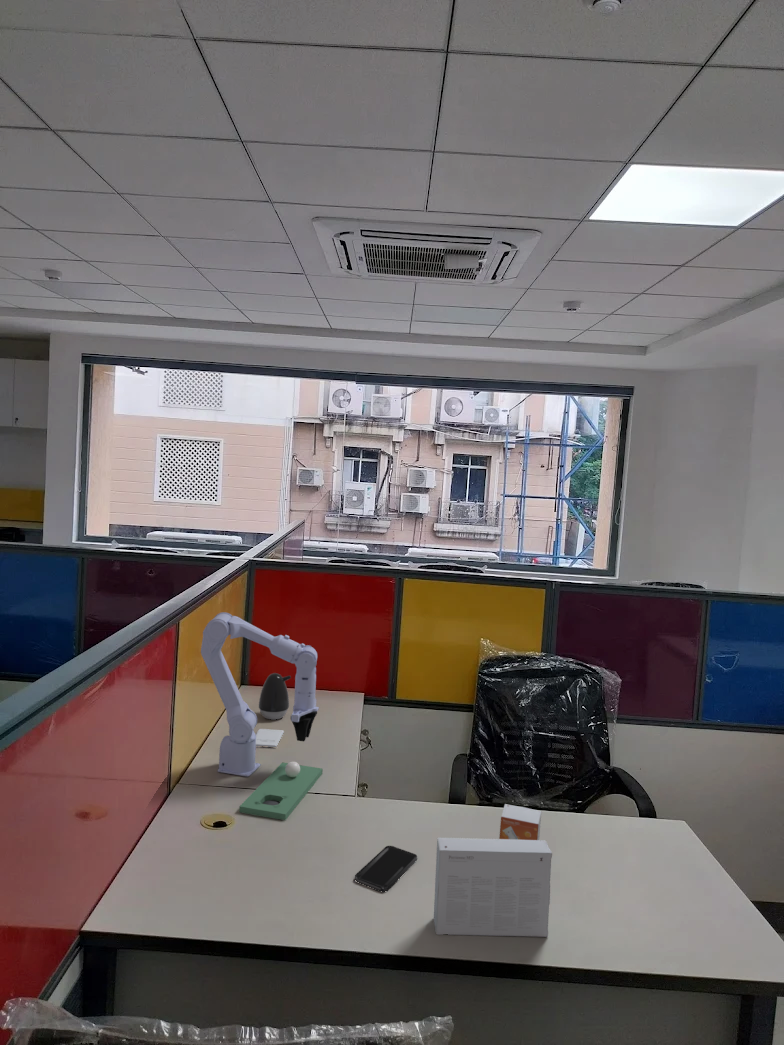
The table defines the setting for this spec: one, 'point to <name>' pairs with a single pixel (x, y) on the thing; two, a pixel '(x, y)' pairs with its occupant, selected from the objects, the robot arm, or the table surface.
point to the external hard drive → (268, 737)
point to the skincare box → (492, 887)
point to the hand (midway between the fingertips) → (303, 738)
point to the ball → (292, 769)
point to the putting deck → (280, 792)
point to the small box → (520, 823)
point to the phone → (386, 868)
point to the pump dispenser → (274, 697)
